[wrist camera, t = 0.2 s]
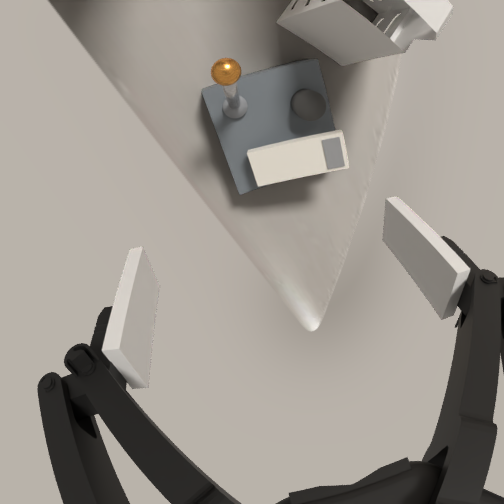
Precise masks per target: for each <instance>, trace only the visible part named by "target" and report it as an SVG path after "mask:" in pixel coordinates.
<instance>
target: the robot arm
mask: <svg viewBox="0 0 504 504" xmlns="http://www.w3.org/2000/svg"><path fill="white" fill-rule="evenodd" d="M383 241H384V242H385V244H386V245H387V246H388V248H389V249H390V250H391V251H392V252H393V254H394V255H395V257H396V258H397V259H398V260H399V262H400V263H401V264H402V266H403V267H404V268H405V269H406V271H407V272H408V274H409V275H410V276H411V277H412V279H413V280H414V281H415V283H416V284H417V285H418V287H419V288H420V290H421V291H422V293H423V294H424V295H425V297H426V298H427V299H428V301H429V302H430V304H431V305H432V307H433V308H434V310H435V311H436V313H437V314H438V315H439V317H440V318H441V320H442V319H445V318H448V317H450V316H453V315H454V313H455V311H456V308H457V306H458V307H459V308H460V310H461V313H460V316H459V318H458V320H457V323H456V325H455V327H457V326H458V330H457V337H456V344H455V350H454V355H453V361H452V366H451V371H450V376H449V381H448V385H447V389H446V393H445V397H444V401H443V405H442V409H441V413H440V417H439V420H438V423H437V426H436V430H435V434H434V436H433V439H432V442H431V444H430V446H429V448H428V449H427V451H426V453H425V455H424V457H423V459H422V461H410V462H409V460H408V458H404V459H401V460H399V461H397V462H394V463H392V464H389V465H386V466H384V467H381V468H379V469H378V470H376V471H374V472H373V473H371V474H370V475H368V476H366V477H365V478H363V479H362V480H360V481H358V482H356V483H354V484H352V485H339V486H319V487H314V488H310V489H305V490H301V491H296V492H291V493H289V497H288V498H286V499H283V500H281V501H280V502H278V503H276V504H504V498H503V497H501V496H499V495H496V494H494V493H492V492H490V491H488V490H485V489H483V487H484V484H485V481H486V477H487V474H488V470H489V466H490V462H491V458H492V454H493V450H494V445H495V440H496V435H497V425H496V424H494V423H493V414H494V408H495V401H496V394H497V386H498V376H499V363H500V353H501V359H502V365H503V372H504V278H498V277H497V276H496V275H495V274H494V273H493V272H491V271H489V270H485V269H482V270H480V269H479V268H478V267H477V266H476V265H475V264H474V263H473V261H472V260H471V259H470V258H469V257H468V256H467V255H466V254H465V253H463V251H462V250H461V249H460V248H459V247H458V246H457V245H456V244H455V243H454V242H453V241H452V240H450V239H448V238H447V237H445V236H442V237H440V236H439V235H438V234H437V233H436V232H435V231H434V230H433V229H432V228H430V226H428V225H427V224H426V223H425V222H424V221H423V220H422V219H421V218H420V217H419V216H418V215H417V214H416V213H415V212H414V211H413V210H411V208H410V207H408V206H407V205H406V204H405V203H404V202H403V201H402V200H400V198H398V197H391V198H386V202H385V216H384V228H383ZM159 288H160V285H159V283H158V281H157V278H156V276H155V274H154V272H153V269H152V267H151V264H150V262H149V260H148V257H147V255H146V252H145V250H144V247H138V248H134V249H130V251H129V254H128V257H127V260H126V263H125V266H124V269H123V273H122V276H121V279H120V283H119V286H118V289H117V293H116V297H115V300H114V304H113V306H111V307H105V308H104V309H103V310H102V312H101V313H100V315H99V316H98V319H97V323H96V327H95V330H94V334H93V337H92V341H91V344H90V346H88V345H87V344H83V343H81V344H77V345H75V346H73V347H72V348H71V349H70V350H69V351H68V352H67V354H66V356H65V359H64V363H65V366H66V368H67V369H68V370H69V371H70V372H71V373H72V374H70V375H67V376H65V377H62V378H61V377H60V376H59V375H58V374H57V373H54V372H51V373H48V374H46V375H45V376H43V377H42V378H41V380H40V381H39V384H38V398H39V405H40V411H41V417H42V423H43V428H44V432H45V438H46V443H47V447H48V451H49V455H50V459H51V464H52V467H53V471H54V475H55V478H56V482H57V485H58V488H59V491H60V494H61V498H62V500H63V503H64V504H130V503H129V501H128V499H127V497H126V495H125V493H124V490H123V488H122V486H121V484H120V482H119V479H118V477H117V475H116V472H115V470H114V468H113V466H112V463H111V460H110V458H109V455H108V453H107V450H106V448H105V445H104V442H103V440H102V437H101V434H100V431H99V428H98V425H97V423H96V420H95V416H94V415H95V414H99V415H100V417H101V418H102V420H103V421H104V423H105V424H106V426H107V427H108V428H109V430H110V431H111V433H112V434H113V435H114V437H115V438H116V439H117V441H118V442H119V443H120V445H121V446H122V447H123V449H124V450H125V451H126V452H127V454H128V455H129V456H130V458H131V459H132V460H133V461H134V463H135V464H136V465H137V466H138V467H139V469H140V470H141V471H142V472H143V473H144V474H145V476H146V477H147V478H148V479H149V480H150V481H151V482H152V484H153V485H154V486H155V487H156V488H157V489H158V490H159V491H160V492H161V493H162V495H163V496H164V497H165V498H166V499H167V500H168V501H169V502H170V503H171V504H241V503H240V502H239V501H237V500H236V499H235V498H233V497H232V496H231V495H230V494H228V493H227V492H226V491H225V490H224V489H222V488H221V487H220V486H219V485H218V484H216V483H215V482H214V481H213V480H212V479H211V478H210V477H208V476H207V475H206V474H205V473H204V472H203V471H202V470H201V469H200V468H199V467H197V466H196V465H195V464H194V463H193V462H192V461H191V460H190V459H189V458H188V457H187V456H186V455H185V454H184V453H183V452H182V451H181V450H180V449H179V448H177V446H176V445H175V444H174V443H173V442H172V441H171V440H170V439H169V438H168V437H167V436H166V435H165V434H164V433H163V432H162V431H161V430H160V429H159V428H158V426H156V424H155V423H154V422H153V421H152V420H151V419H150V418H149V417H148V415H147V414H146V413H145V412H144V411H143V410H142V409H141V407H140V406H139V405H138V404H137V403H136V402H135V400H134V399H133V398H132V397H131V396H130V394H129V393H128V392H127V391H126V383H128V384H129V385H130V386H131V388H132V389H135V388H147V387H148V386H149V374H150V363H151V353H152V343H153V334H154V326H155V318H156V310H157V302H158V295H159Z"/></svg>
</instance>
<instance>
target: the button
mask: <svg viewBox="0 0 504 504" xmlns="http://www.w3.org/2000/svg"><path fill="white" fill-rule="evenodd" d="M291 108H292V110H293V112H294V113H295V114H296V115H298V116H299V117H301V118H302V119H304V120H307V121H315V120H318V119H319V118H321V117H322V116H323V114H324V113H325V110H326V101H325V99H324V97H323V96H322V95H321V94H320V93H318V92H316V91H313V90H310V89H301V90H299V91H297V92H296V93H295V94H294V95H293V96H292V98H291Z"/></svg>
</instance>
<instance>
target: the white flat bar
mask: <svg viewBox="0 0 504 504" xmlns="http://www.w3.org/2000/svg"><path fill="white" fill-rule="evenodd" d="M247 155H248V158H249V161H250V164H251V167H252V170H253V173H254V176H255V179H256V182H257V185H258V187H259V186H264V185H268V184H273V183H277V182H282V181H286V180H291V179H296V178H301V177H305V176H310V175H315V174H320V173H325V172H331V171H336V170H341V169H347V168H349V162H348V157H347V151H346V146H345V141H344V136H343V132H342V130H336V131H331V132H326V133H321V134H315V135H311V136H306V137H301V138H296V139H292V140H287V141H283V142H279V143H274V144H270V145H266V146H262V147H258V148H254V149H250V150H248V152H247Z"/></svg>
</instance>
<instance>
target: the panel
mask: <svg viewBox="0 0 504 504" xmlns="http://www.w3.org/2000/svg"><path fill="white" fill-rule="evenodd" d="M237 87H238V92H239V97H240V102H241V105H240V107H239V108H238V109H235V110H233V109H231V108H230V107H229V106H228V103H227V100H226V97H225V94H224V91H223V87H222V85H219V84H215V85H212V86H209V87H206V88H204V89H202V91H201V92H202V95H203V97H204V100H205V103H206V105H207V108H208V111H209V113H210V116H211V119H212V121H213V124H214V127H215V130H216V132H217V135H218V138H219V140H220V143H221V146H222V149H223V151H224V154H225V157H226V159H227V162H228V165H229V168H230V170H231V173H232V176H233V178H234V181H235V184H236V187H237V189H238V192H239V195H241V194H243V193H246V192H249V191H252V190H255V189H258V188H262V187H265V186H268V185H271V184H268V185H264V186H259V187H258V185H257V182H256V179H255V176H254V173H253V170H252V167H251V164H250V161H249V158H248V155H247V152H248V150H250V149H254V148H258V147H262V146H266V145H270V144H274V143H279V142H283V141H287V140H292V139H296V138H301V137H306V136H311V135H315V134H321V133H326V132H331V131H335V127H334V122H333V118H332V113H331V109H330V105H329V100H328V96H327V92H326V88H325V84H324V80H323V77H322V73H321V69H320V65H319V62H318V59H305V60H301V61H296V62H292V63H287V64H283V65H279V66H275V67H272V68H268V69H264V70H260V71H257V72H253V73H250V74H246V75H243V76H240V78H239V80H238V81H237ZM301 89H310V90H313V91H316V92H318V93H320V94H321V95H322V96H323V97H324V99H325V101H326V110H325V113H324V114H323V116H322V117H321V118H319V119H318V120H315V121H307V120H304V119H302V118H301V117H299V116H298V115H296V114H295V113H294V112H293V110H292V108H291V98H292V96H293V95H294V94H295V93H296V92H297V91H299V90H301ZM273 184H274V183H273Z"/></svg>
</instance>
